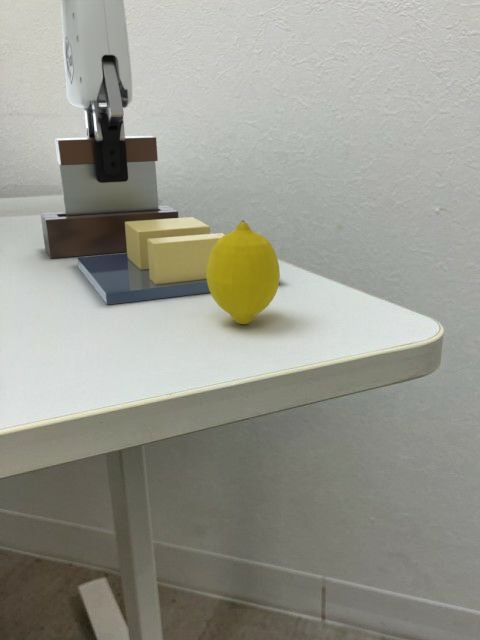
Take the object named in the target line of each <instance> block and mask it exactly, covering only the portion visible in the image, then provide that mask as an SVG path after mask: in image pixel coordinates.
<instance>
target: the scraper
mask: <svg viewBox="0 0 480 640" xmlns="http://www.w3.org/2000/svg"><path fill="white" fill-rule="evenodd" d="M95 141H96V138H95V137H87V136H86V137H61V138H60V137H57V138H54V146H55V147H54V148H55V153H56V161H57V164H58V166H59V174H60V175H59V176H60V181H61V190H62V198H63V205H64V212H65V215H66V217H69V216H84V215H100V214H116V213H132V212H148V211H159V208H158V206H159V193H158V181H157V180H158V179H157V165H156V164H157V163H156V162H158V161H159V157H158V142H157V137H156V136H153V135H125V142H126V155H127V167H128V180H127V181H126V182H108V183H100V182H98V181H97V179H96V170H95V159H94V149H93V142H95Z"/></svg>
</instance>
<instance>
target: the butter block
mask: <svg viewBox="0 0 480 640" xmlns="http://www.w3.org/2000/svg"><path fill="white" fill-rule="evenodd" d="M125 232H126V245H127V252H126V253H127V257H128V259H129V260H131V261H132V262H133V263H134V264H135V265H136V266H137V267H138V268H139V269H140V270H146V269H149V261H148V245H147V239H153V238H165V237H178V236H190V235H202V234H211V226H210V225H208V224H206V223H205V222H203V221H201V220H200V219H197V218H195V217H194V216H191V217H190V216H186V217H178V218H171V219H157V220H142V221H128V222H125Z"/></svg>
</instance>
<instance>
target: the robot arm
mask: <svg viewBox="0 0 480 640" xmlns="http://www.w3.org/2000/svg"><path fill="white" fill-rule="evenodd" d="M124 1H125V0H61V1H60V3H61V4H60V6H61V9H60V13H61V14H60V15H61V17H60V18H61V19H60V21H61V38H62V51H63V62H64V75H65V76H64V77H65V89H66V90H65V91H66V100H67V102H68V103H69V104H70V105H71V106H73V107H77V108H82V109H84V120H85V128H86V129H85V130H86V138H87V137H95V138H96V141H95V142H93V149H94V159H95V170H96V179H97V181H98V182H100V183H108V182H126V181H127V180H128V167H127V155H126V142H125V136H126V134H125V133H126V132H125V123H124V122H125V121H124V114H125V113H124V112H125V111H124V109H125V108H127V107H128V106H130V104H132V102H133V77H132V76H133V75H132V74H133V73H132V64H131V63H132V62H131V52H130V42H129V34H128V33H129V32H128V25H127V15H126V10H125V9H126V8H125V2H124ZM100 104H106V105H100Z"/></svg>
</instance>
